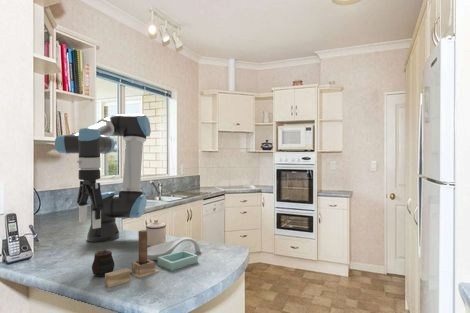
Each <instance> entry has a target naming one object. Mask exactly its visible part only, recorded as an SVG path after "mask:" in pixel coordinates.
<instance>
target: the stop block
mask: <svg viewBox="0 0 470 313" xmlns="http://www.w3.org/2000/svg"><path fill="white" fill-rule="evenodd" d="M130 270H131V269H129V268H126V267H125V268H121V269H117V270H115V271H114V270H113V272H110V273H106V274H105V277H104V286H106V287H108V288H112V287H115V286H118V285H122V284H125V283H127V282H131V274H130Z"/></svg>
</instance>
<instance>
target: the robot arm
mask: <svg viewBox="0 0 470 313" xmlns="http://www.w3.org/2000/svg"><path fill="white" fill-rule="evenodd" d="M151 129H152V128H151V123H150V119H149V117H148V116H147V115H145V114H142V113H140V114H139V113H134V114H133V113H132V114H131V113H128V114H127V113H126V114H123V113H122V114H119V113H118V114H113V115H108V116H106V117H104V118H101V119H99V120H98V121H97V122H96V123H94V124H92V125H89V126H87V127H82V128H80V129H79V130H78V131H77V132H74V133H72V134H63V135H62V134H61V135H58V136H56V137H55V139H54V148H55V151H57V153H59V154H66V155H68V154H78V159H77V164H78V168H79V170H78V180H80V181H79V188H78V195H77V200H76V203H77V204H78V210H79V211H78V216H79V217H78V218H79V221H78V223H80V224H81V223H87V222H88V204H89V203H88V200H90V226H89V229H88V231H87V235H86V240H87V241H88V242H91V243H105V242H110V241H114V240H117V239H119V238H120V230H119V229H118V225H117V222H116V221H117V219H139V218H141V217H142V216H143V215H144V213H145V210H146V207H147V197H146V195H145V194H144V192H143V191H144V190H142V188H141V178H142V166H143V164H142V161H143V150H144V143H145V142H146V141H147V138H148V137H150V135H151ZM113 137H122V139H123V141H125V150H124V164H123V176H122V187H121V188H120V190H119V191H118V194H117V193H116V191H106V192H102V191H101V183H100V182H97V180H100V179H101V169H100V168H102V167H101V166H102V165H101V159H102V158H101V154H103V155H105V154H109V153H112V152H113V151H114V149H115V148H116V143H115V140H114V138H113ZM89 198H90V199H89Z"/></svg>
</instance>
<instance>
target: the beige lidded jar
mask: <svg viewBox="0 0 470 313" xmlns="http://www.w3.org/2000/svg"><path fill="white" fill-rule="evenodd" d="M166 227H167V225H166V223H164V222H161V221H159V218H155V219H153V221H151V222H150V223H147V224H146V226H145V228H146V230H147V247H151V246H155V245H159V244H162V243H166Z"/></svg>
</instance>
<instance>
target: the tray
mask: <svg viewBox="0 0 470 313" xmlns="http://www.w3.org/2000/svg"><path fill="white" fill-rule="evenodd" d="M198 258H199V256H198V255H197V254H195V253H192V252H189V251H187V250H180V251H179V250H178V251H176V252H172V253H171V254H168V255H165V256H161V257H158V260H157V266H159V267H161V268H164V269H166V270H168V271H170V272H173V271H175V270H176V271H177V270H178V269H182V268H184V267H185V268H186V267H188V266H190V265H194V264H197V263H198Z"/></svg>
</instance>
